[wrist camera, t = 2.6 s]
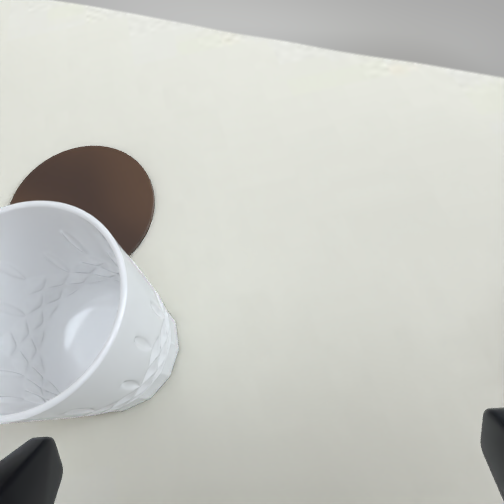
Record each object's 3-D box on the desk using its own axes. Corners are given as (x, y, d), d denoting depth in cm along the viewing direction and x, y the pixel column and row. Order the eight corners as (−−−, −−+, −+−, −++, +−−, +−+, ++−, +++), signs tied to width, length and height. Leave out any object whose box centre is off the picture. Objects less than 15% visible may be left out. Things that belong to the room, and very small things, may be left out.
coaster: (108, 304, 25) (106, 303, 25) (-21, 251, 27) (-24, 249, 27) (179, 171, 28) (178, 169, 28) (58, 132, 30) (56, 129, 30)
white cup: (51, 295, 25) (-85, 222, 16) (180, 268, 25) (118, 181, 16) (52, 436, 22) (-114, 447, 13) (198, 407, 22) (135, 396, 13)
